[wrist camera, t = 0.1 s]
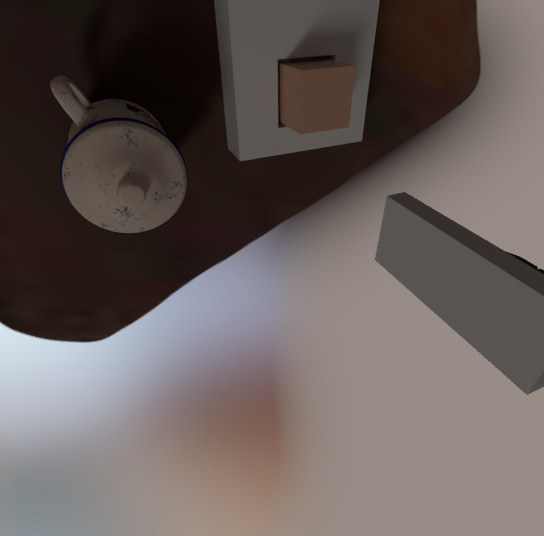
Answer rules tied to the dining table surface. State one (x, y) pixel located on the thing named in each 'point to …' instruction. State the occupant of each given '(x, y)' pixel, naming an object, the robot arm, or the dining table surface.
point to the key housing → (288, 49)
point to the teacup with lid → (118, 163)
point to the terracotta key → (316, 95)
